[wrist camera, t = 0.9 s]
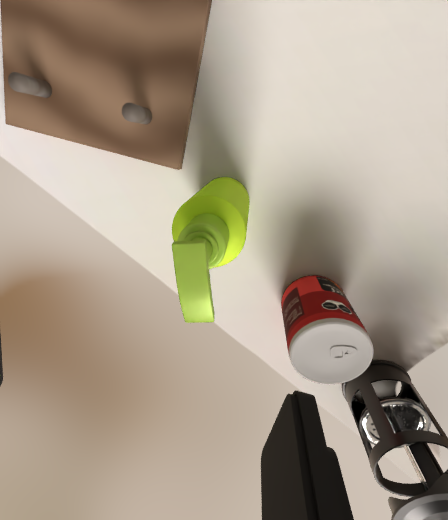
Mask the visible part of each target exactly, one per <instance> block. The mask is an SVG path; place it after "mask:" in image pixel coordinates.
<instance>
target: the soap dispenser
mask: <svg viewBox="0 0 448 520" xmlns="http://www.w3.org/2000/svg"><path fill="white" fill-rule="evenodd" d="M248 212H249V196H248V193H247V191H246V189H245V187H244V186H243V185H242V184H241V183H240V182H238V181H237V180H235V179H232V178H228V177H221V178H217V179H214V180H212V181H211V182H209V183H208V184H207V185H206V186H205V187H203V188H202V189H201V190H200V191H199V192H197V193H196V194H195V195H194V196H193V197H191V198H190V199H189V200H188V201H187V202H185V203H184V204H183V205H182V206H181V207H180V208H179V210H178V211H177V213H176V215H175V217H174V220H173V224H172V235H173V240H174V242H173V244H172V251H173V259H174V267H175V274H176V281H177V288H178V294H179V299H180V304H181V308H182V312H183V316H184V319H185V322H188V323H189V322H193V323H194V322H214V307H213V301H212V293H211V284H210V274H209V269H212V268H214V267H219V266H223V265H225V264H227V263H229V262H231V261H232V260H233V259H235V258H236V257H237V256H238V254H239V253H240V252H241V250H242V248H243V246H244V243H245V239H246V231H247V221H248Z"/></svg>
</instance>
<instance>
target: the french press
mask: <svg viewBox="0 0 448 520" xmlns="http://www.w3.org/2000/svg"><path fill="white" fill-rule="evenodd" d="M381 380H395V381H400V382H401V384H402V387H401V391H400V393H399V394H398V396H397V397H388V398H383V399H378V397H377V395H376V393H375V391H374V389H373V387H372V384H371V383H372V382H376V381H381ZM359 390H360V392H361V395H362V397H363V399H364V402H365V404H364V403H362V402H360V401H358V400H357V399H356V398H355V397H354V396H355V394H356V393H357V392H358V391H359ZM342 391H343V395H344V397H345V399H346V400H347V402H348V404H349V407H350V410H351V412H352V414H353V416H354V419H355V422H356V425H357V427H358V430H359V433H360V436H361V439H362V441H363V444H364V447H365V450H366V452H367V455H368V458H369V462H370V466H371V468H372V472H373V474H374V477H375V479H376V481H377V482H378V484H379V485H380V486H381V487H383V488H384V489H385V490H387V491H389V492H391V493H393V494H397V495H400V496H406V497H411V498H409V499H408V500H401V499H397V498H393V497H389V499H388V502H389V506H390V509H391V511H392V514H393V515H392V519H391V520H448V470H447V471H446V472H445V473H443V471H442V469H441V467H440V466H439V464H438V462H437V460H436V459H435V457H434V455H433V453H432V452H431V450H430V448H429V446H428V445H427V443H433V444H437V445H441V446H444V447H446V448H448V438H447V436H446V434H445V433H444V431H443V430H442V428H441V427H440V426H439V424H438V422H437V421H436V419H435V418H434V416H433V415H432V413H431V412H430V410H429V408H428V407H427V405H426V404H425V402H424V401H423V399H422V398H421V396H420V395H419V393H418V392H417V390H416V389H415V387H414V386H413V384H412V383H411V379H410V377H409V375H408V373H407V372H406V371H405V370H404V369H403V368H402V367H401V366H399V365H397V364H395V363H392V362H389V361H383V360H374V361H371V363H370V365H369V366H368V368H367V369H366V370H365V371H364V372H363V373H362V374H361V375H359V376H358V377H356V378H354V379H352V380H350V381H347V382H344V383H343V384H342ZM420 403H421V404H420ZM431 421H432V422H433V424H434V425H435V427H436V429H437V430H438V432H439V433H440V435H439V434H437V433H433V432H430V431H429V429H430V426H431ZM370 443H372V444H374V445H375V446H374V448H373V449H372V447H371V444H370ZM407 446H409V448H410V450H411V452H412V454H413V456H414V458H415V460H416V462H417V464H418V466H419V468H420V470H421V472H422V474H423V476H424V478H425V480H426V482H425V481H424V479H423V477H422V475H421V473H420V471H419V469H418V467H417V465H416V463H415V461H414V459H413V457H412V455H411V453H410V451H409V449H408V447H407ZM401 447H404V448H405V450H406V452H407V454H408V456H409V458H410V460H411V463H412V465H413V467H414V469H415V471H416V473H417V475H418V477H419V479H420V481H421V483H416V484H402V483H397V482H393V481H389V480H387V479H385V478H383V476H382V473H381V471H380V468H379V465H378V461H379V460H380V458H381V457H382V456H383V455H384V454H386V453H387V452H388V451H390V450H392V449H393V448H401Z"/></svg>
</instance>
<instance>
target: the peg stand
mask: <svg viewBox="0 0 448 520" xmlns="http://www.w3.org/2000/svg"><path fill="white" fill-rule="evenodd" d="M211 3H212V0H1V21H2V44H3V68H4V92H5V116H6V124H8V125H12V126H16V127H20V128H23V129H27V130H31V131H35V132H38V133H42V134H46V135H50V136H53V137H57V138H61V139H65V140H68V141H72V142H76V143H80V144H83V145H87V146H91V147H95V148H98V149H102V150H106V151H110V152H113V153H117V154H121V155H125V156H128V157H132V158H136V159H140V160H143V161H147V162H151V163H155V164H158V165H162V166H166V167H170V168H173V169H177V170H179V169H182V163H183V158H184V152H185V147H186V141H187V136H188V130H189V125H190V119H191V113H192V108H193V102H194V97H195V91H196V86H197V80H198V75H199V69H200V64H201V58H202V53H203V47H204V41H205V36H206V30H207V25H208V19H209V14H210V8H211Z"/></svg>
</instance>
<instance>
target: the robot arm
mask: <svg viewBox="0 0 448 520" xmlns="http://www.w3.org/2000/svg"><path fill="white" fill-rule="evenodd" d="M2 371H3V370H2V352H1V336H0V385H1V384H2V381H3V372H2ZM261 486H262V487H261V492H262V520H354V519H353V515H352V511H351V507H350V504H349V500H348V496H347V492H346V488H345V485H344V481H343V477H342V474H341V470H340V466H339V462H338V458H337V456H336V453H335V451H334V450H333V449H332V448H330V447H327V446H326V442H325V437H324V433H323V429H322V425H321V420H320V416H319V412H318V408H317V404H316V399H315V397H314V396H313V395H311V394H307V393H303V392H299V391H294V392H293V394H288V395H287V396H286V398H285V400H284V403H283V405H282V407H281V409H280V412H279V414H278V417H277V418H276V421H275V423H274V425H273V427H272V430H271V433H270V434H269V437H268V439H267V441H266V443H265V446H264V448H263V451H262V456H261Z"/></svg>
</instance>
